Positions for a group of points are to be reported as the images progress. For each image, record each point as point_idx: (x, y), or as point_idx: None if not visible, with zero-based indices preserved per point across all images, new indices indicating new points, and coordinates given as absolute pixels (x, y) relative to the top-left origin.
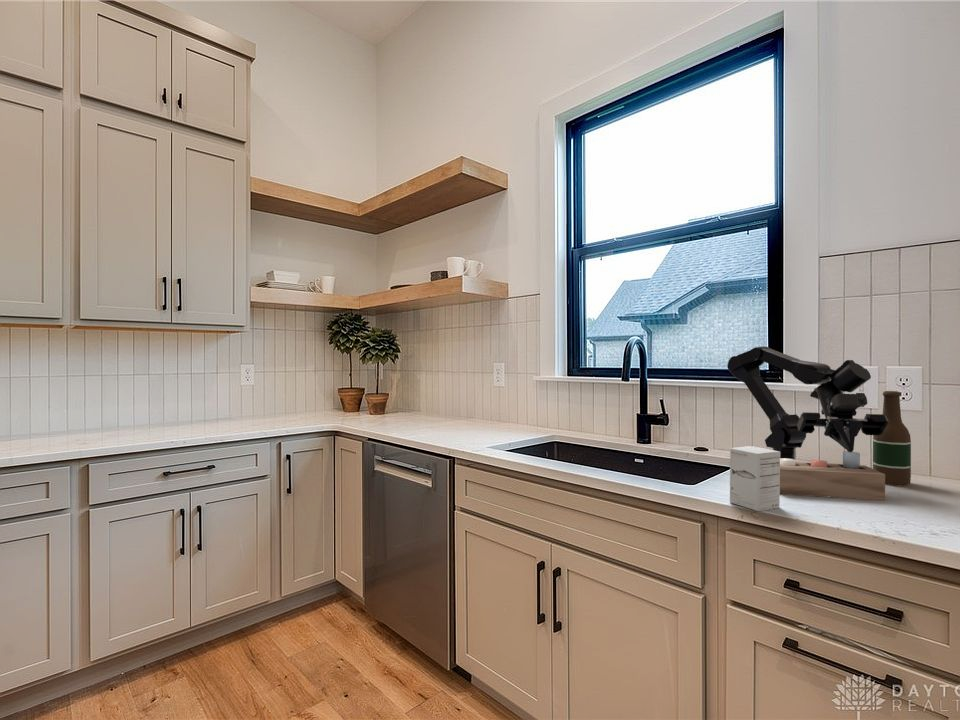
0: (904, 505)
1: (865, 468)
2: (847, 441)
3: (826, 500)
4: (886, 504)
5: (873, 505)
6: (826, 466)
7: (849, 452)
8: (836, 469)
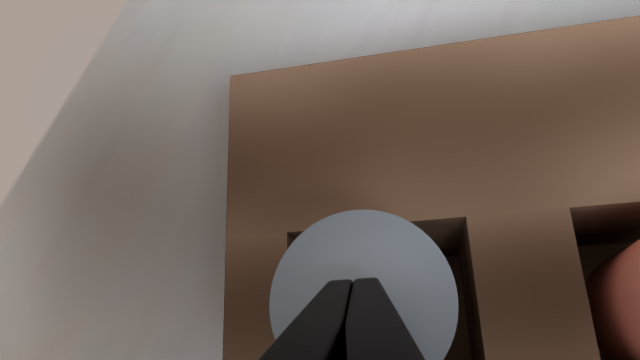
0: None
1: None
2: (375, 345)
3: None
4: None
5: (382, 28)
6: (627, 253)
7: None
8: (553, 133)
